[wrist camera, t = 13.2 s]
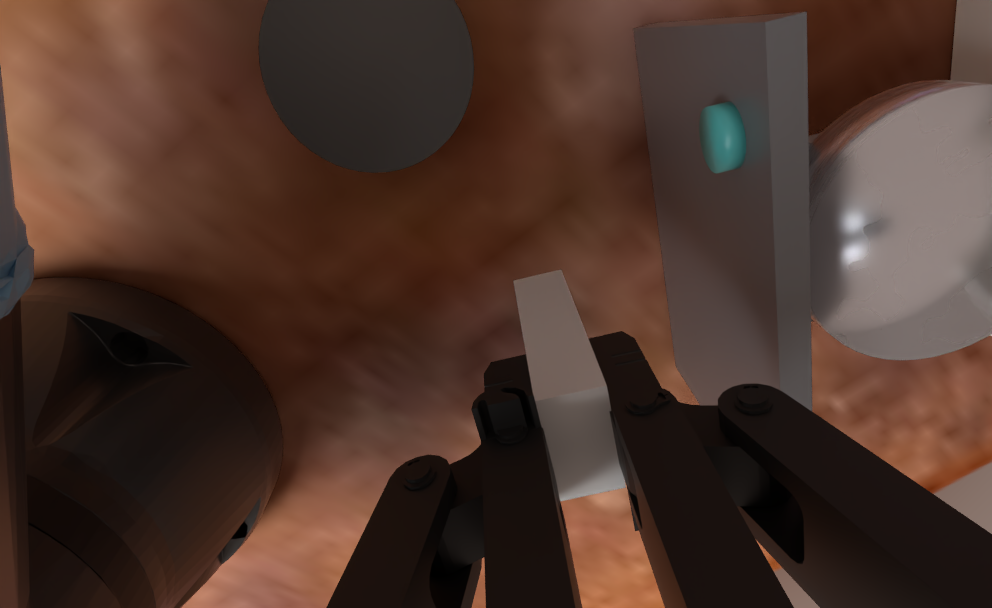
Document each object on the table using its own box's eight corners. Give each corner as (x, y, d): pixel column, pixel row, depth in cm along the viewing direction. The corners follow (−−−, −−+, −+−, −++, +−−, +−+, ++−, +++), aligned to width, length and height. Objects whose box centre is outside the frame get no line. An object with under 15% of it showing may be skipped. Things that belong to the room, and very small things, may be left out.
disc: (774, 353, 20) (805, 384, 18) (765, 118, 17) (801, 128, 15) (1012, 300, 20) (1067, 327, 18) (1050, 48, 17) (1121, 49, 15)
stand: (344, 155, 22) (305, 193, 17) (289, -8, 20) (222, -25, 15) (488, 118, 22) (495, 145, 17) (449, -51, 20) (441, -84, 14)
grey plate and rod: (664, 368, 26) (769, 544, 17) (619, 32, 21) (739, 28, 11) (1077, 275, 25) (1421, 410, 16) (1151, -106, 20) (1747, -230, 10)
